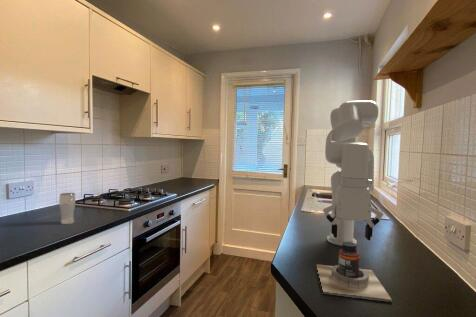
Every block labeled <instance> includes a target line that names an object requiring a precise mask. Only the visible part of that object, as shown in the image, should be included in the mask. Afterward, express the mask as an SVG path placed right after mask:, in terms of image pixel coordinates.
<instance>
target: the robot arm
mask: <svg viewBox="0 0 476 317" xmlns="http://www.w3.org/2000/svg"><path fill="white" fill-rule="evenodd" d="M329 117H330V119H329V120H330V125H331V128H332V129H331V130H330V131H329V133H328V134H327V135H326V139H325V150H324V151H325V152H324V153H325V155H324V156H325V159H326V162H327V163H329V164H332V165H335V167H337V168H339V169H340V171H337V172H334V173H332V174H331V177H330V187H331V205H329V206H328V207H325V208H323V209H322V211H323V213H324V216H325V217H326V219H327V220H328V221H329V223H330V234H329V235H327V236H326V241H328V243H331V244H332V245H336V246H340V247H341V246H343V242H353V243H355V244H356V245H357V244H358V243H357V242H358V240H357V239H356V238H354V226H355V224H354V223H355V222H357V221H358V222H365V223H366V224H365V228H364V229H365V230H364V237H365V238H366V240H368V241H371V238H372V237H373V228H375V227H376V225H377V224H378V223H379V222H380V220H381V219H382V217H383V216H384V213H383V212H381V211H380V210H378V209H376V208H374V207H373V206H372V199H371V194H372V193H373V191H374V186H375V184H374V183H375V156H374V153H373V151H372V147H370V145H369V144H368V143H366V142H362V141H361V142H359V141H356V137H357V138H358V136H360V135H361V134H362V132H363V131H364V130H363V129H364V128H366V127H367V128H368V127H371V126H373V125H374V124H375V122H376V121H377V120H378V118H379V107H378V104H377V103H376V101H374V100H350V101H344V102H342V103H341V104H340V105H339V107H336V108H333V110H331V112H330V116H329ZM330 213H331V215H330ZM372 213H373V214H375V216H374V218H371V217H372Z"/></svg>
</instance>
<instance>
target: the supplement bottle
mask: <svg viewBox="0 0 476 317" xmlns="http://www.w3.org/2000/svg"><path fill="white" fill-rule="evenodd" d="M338 265H339V270H338V273H339V274H341V275H343V276H346V277H349V278H359V268H360V252H359V251H358V250H357V244H355V243H353V242H343V246H342V248H340V249H339V251H338Z"/></svg>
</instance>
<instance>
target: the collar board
mask: <svg viewBox="0 0 476 317" xmlns="http://www.w3.org/2000/svg"><path fill="white" fill-rule="evenodd" d="M316 267H317V268H316V271H317V270H318V272H317V275H318V274H319V276H318V279H319V278H320V281H319V283H320V282H321V285H320V287H321V286H322V289H321V291H322V290H323V292H329V293H338V294H347V295H356V296H362V297H369V298H378V299H385V300H391V301H392V302H393V299H392V297H391V296H390V295H389V293H388V292H387V290H386V289H385V287H384V285H383V284H382V283H381V282H380V280H379V279H378V278H377V277H378V276H376V274H375V273H374V272H373V270H372V269H367V268H366V269H364V268H361V267H359V278H349V277H346V276H343V275H341V274H339V273H338V270H339V264H335V265H326V264H316Z"/></svg>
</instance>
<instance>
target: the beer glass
mask: <svg viewBox="0 0 476 317" xmlns="http://www.w3.org/2000/svg"><path fill="white" fill-rule="evenodd" d="M58 200H59V202H58V204H59V211H60V215H61V218H60V222H59V223H60V224H61V225H70V224H74V223H75V218H74V214H75V213H74V212H75V210H76V209H75V208H76V193H75V192H64V193H63V192H62V193H59V199H58Z"/></svg>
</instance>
